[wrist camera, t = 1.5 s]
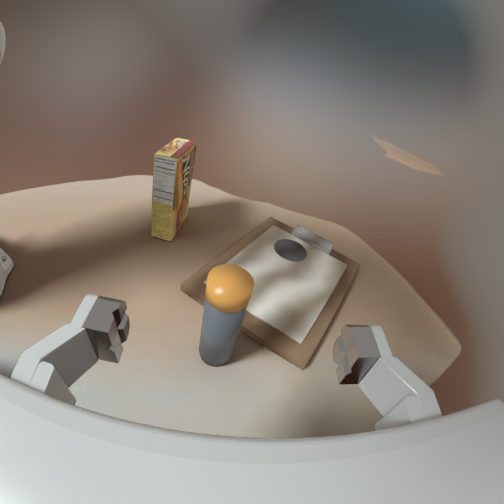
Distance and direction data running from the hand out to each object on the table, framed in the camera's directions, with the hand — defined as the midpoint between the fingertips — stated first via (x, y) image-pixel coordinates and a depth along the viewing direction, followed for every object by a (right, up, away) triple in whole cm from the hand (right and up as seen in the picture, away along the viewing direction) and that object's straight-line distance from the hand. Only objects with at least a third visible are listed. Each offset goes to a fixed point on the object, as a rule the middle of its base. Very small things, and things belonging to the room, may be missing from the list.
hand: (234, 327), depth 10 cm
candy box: (-14, +7, +41) cm, 44 cm away
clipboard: (+6, -2, +36) cm, 37 cm away
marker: (-4, -10, +23) cm, 26 cm away
